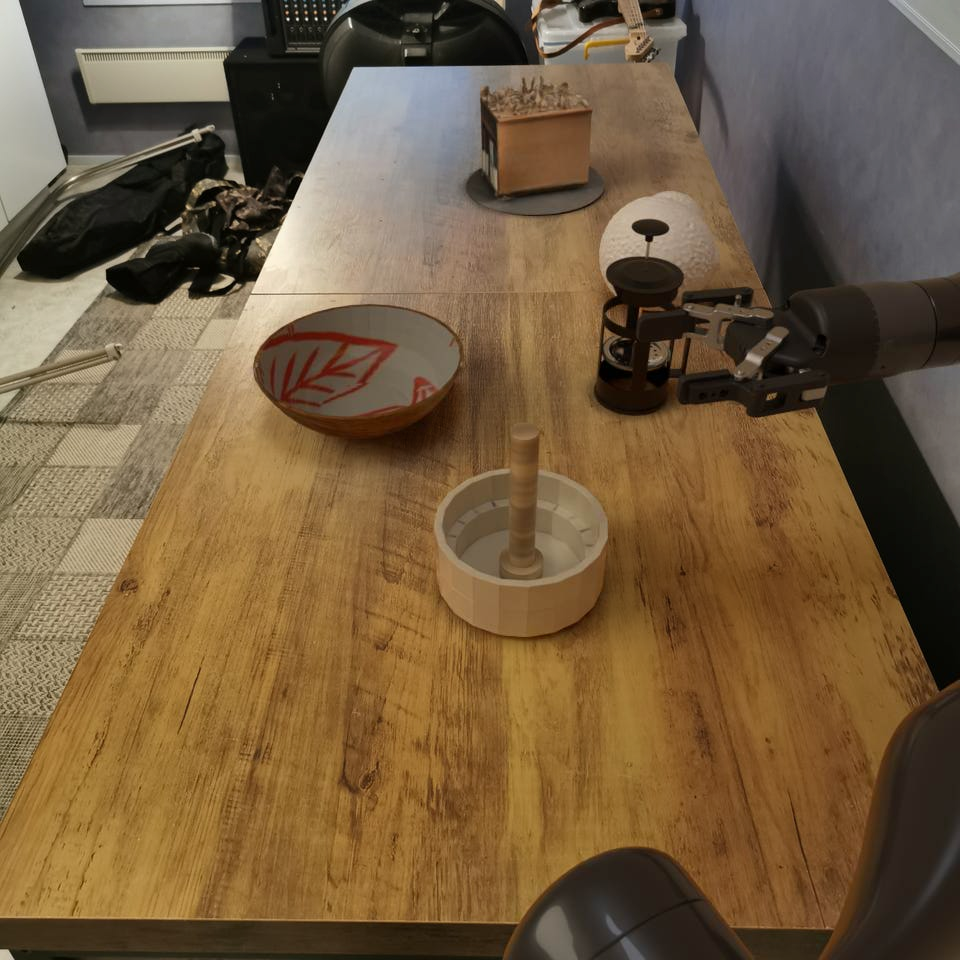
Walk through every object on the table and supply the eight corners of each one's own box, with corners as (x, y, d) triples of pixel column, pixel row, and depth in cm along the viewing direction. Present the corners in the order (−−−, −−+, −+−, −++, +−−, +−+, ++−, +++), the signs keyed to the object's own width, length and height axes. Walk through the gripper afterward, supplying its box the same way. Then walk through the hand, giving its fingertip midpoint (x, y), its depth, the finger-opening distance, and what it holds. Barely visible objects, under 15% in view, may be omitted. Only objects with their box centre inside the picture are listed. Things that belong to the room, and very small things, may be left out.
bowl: (245, 379, 121) (234, 326, 116) (426, 340, 128) (423, 288, 123) (289, 497, 103) (278, 440, 98) (496, 443, 110) (496, 388, 105)
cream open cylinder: (624, 624, 89) (631, 570, 84) (454, 654, 86) (452, 599, 81) (575, 511, 101) (579, 457, 96) (425, 533, 99) (421, 480, 94)
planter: (545, 229, 154) (549, 114, 142) (437, 189, 167) (433, 81, 155) (631, 183, 168) (642, 75, 156) (525, 149, 181) (528, 47, 169)
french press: (591, 415, 114) (606, 243, 99) (585, 372, 122) (599, 206, 107) (686, 415, 114) (715, 243, 99) (675, 373, 121) (701, 206, 106)
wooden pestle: (547, 584, 92) (555, 442, 80) (504, 592, 91) (506, 449, 80) (536, 554, 95) (542, 412, 84) (495, 560, 95) (495, 419, 83)
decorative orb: (570, 321, 132) (576, 215, 121) (594, 264, 144) (602, 164, 134) (712, 341, 127) (731, 233, 117) (724, 281, 140) (743, 179, 130)
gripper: (890, 425, 69) (685, 455, 67) (801, 328, 80) (621, 351, 77) (920, 339, 64) (700, 368, 62) (821, 248, 75) (630, 269, 72)
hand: (657, 358), depth 69 cm, fingers open, 8 cm apart
